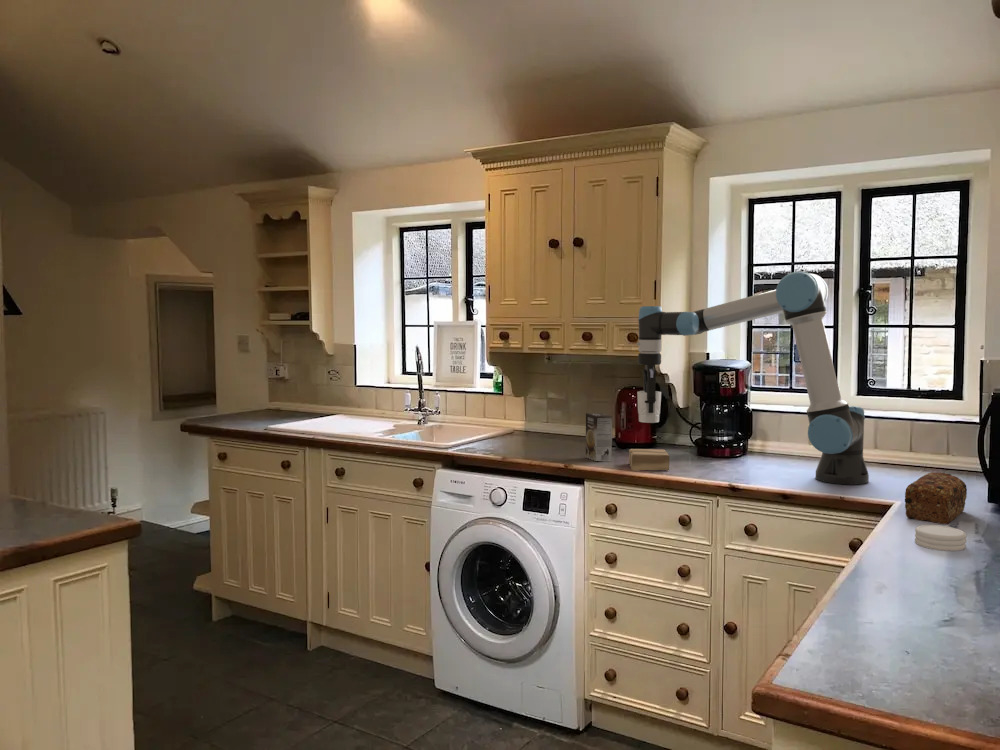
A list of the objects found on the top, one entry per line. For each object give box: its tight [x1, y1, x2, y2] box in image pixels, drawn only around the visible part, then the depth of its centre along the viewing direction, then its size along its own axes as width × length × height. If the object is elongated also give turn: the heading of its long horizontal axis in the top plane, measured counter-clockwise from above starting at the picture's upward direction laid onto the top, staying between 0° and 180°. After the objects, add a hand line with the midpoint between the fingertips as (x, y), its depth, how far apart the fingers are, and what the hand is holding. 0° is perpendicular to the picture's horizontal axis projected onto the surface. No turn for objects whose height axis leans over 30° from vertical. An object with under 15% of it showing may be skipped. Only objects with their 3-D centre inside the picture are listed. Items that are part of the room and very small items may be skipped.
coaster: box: [914, 524, 967, 552], centre depth 179 cm, size 10×10×4 cm
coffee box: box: [585, 412, 613, 462], centre depth 286 cm, size 9×6×16 cm
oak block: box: [628, 448, 670, 472], centre depth 272 cm, size 12×12×5 cm
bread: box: [904, 472, 968, 525], centre depth 206 cm, size 19×11×10 cm, turn 137°
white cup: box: [636, 390, 662, 424], centre depth 270 cm, size 8×8×10 cm
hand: (648, 420), depth 271 cm, fingers closed on white cup, 7 cm apart
